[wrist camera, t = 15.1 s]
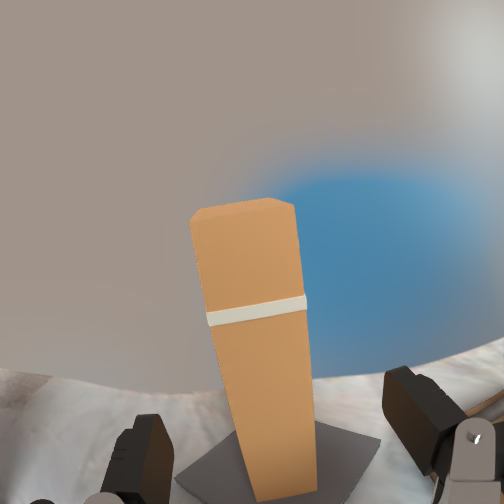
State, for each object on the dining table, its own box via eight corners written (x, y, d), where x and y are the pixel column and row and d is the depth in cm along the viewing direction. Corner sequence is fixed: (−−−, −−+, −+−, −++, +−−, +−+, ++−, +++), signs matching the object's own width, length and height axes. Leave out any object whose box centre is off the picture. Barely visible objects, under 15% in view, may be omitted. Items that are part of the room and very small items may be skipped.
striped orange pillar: (299, 433, 22) (270, 197, 18) (318, 490, 16) (295, 204, 12) (248, 443, 22) (198, 209, 18) (256, 502, 16) (187, 222, 12)
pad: (299, 557, 12) (299, 553, 11) (177, 483, 19) (173, 477, 19) (379, 445, 20) (380, 439, 19) (267, 409, 27) (266, 403, 27)
